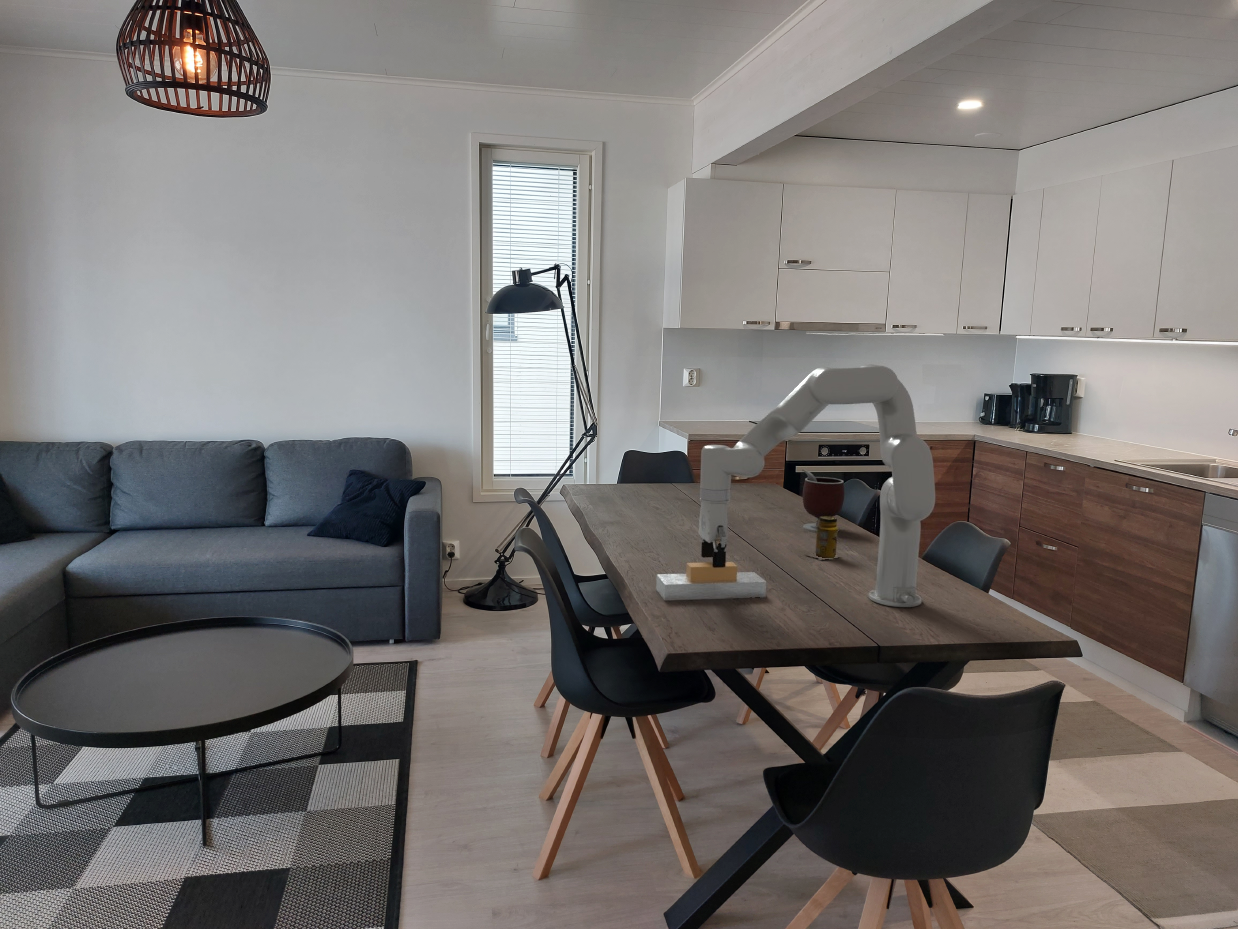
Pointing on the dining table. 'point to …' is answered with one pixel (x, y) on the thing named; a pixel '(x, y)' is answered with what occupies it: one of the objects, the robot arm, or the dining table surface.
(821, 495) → the mate gourd
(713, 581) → the white flat block
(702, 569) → the tan wooden block
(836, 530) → the condiment
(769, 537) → the dining table surface
